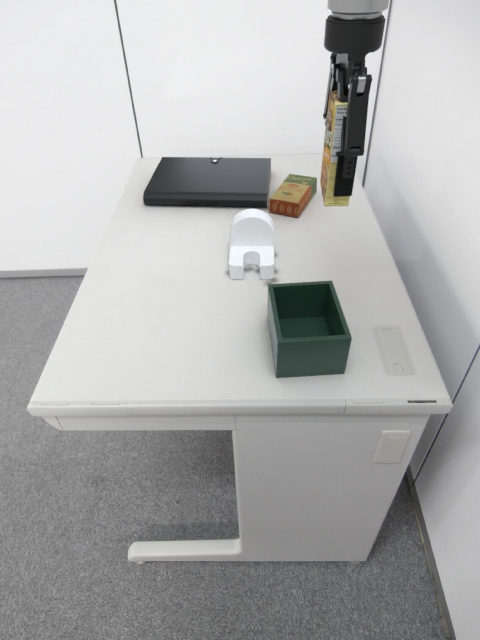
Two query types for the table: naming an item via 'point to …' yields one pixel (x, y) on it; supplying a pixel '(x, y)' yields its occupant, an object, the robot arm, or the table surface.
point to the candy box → (332, 150)
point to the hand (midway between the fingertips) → (335, 181)
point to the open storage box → (307, 329)
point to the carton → (293, 195)
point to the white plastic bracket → (251, 243)
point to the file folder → (210, 182)
